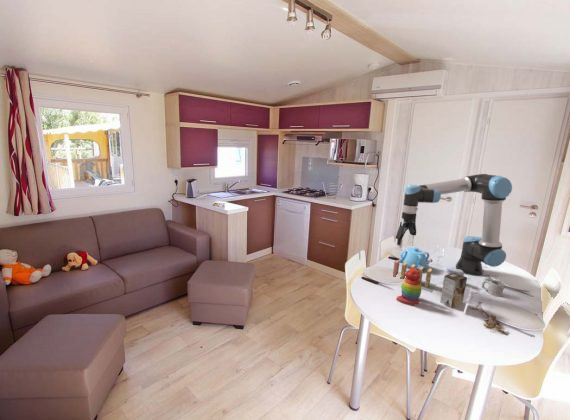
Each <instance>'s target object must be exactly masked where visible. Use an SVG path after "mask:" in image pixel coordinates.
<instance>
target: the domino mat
mask: <svg viewBox="0 0 570 420" xmlns="http://www.w3.org/2000/svg"><path fill="white" fill-rule="evenodd" d="M425 281H426V280H421V291H426V292H429V293H434V290H435V289H436V287H437V284H436V283H432V282H430V284H429V287H428V288H425Z"/></svg>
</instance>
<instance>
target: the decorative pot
mask: <svg viewBox="0 0 570 420" xmlns="http://www.w3.org/2000/svg"><path fill="white" fill-rule="evenodd" d="M429 258H430V253H429V252H427V251H424V250H421V249H419V248H418V247H412V246H409V247H408V248H407V247H406V249H405V250H401V252H400V258H399V260H400V263H399V264H403V263H404V262H407V269H408V270H409V269H410V266H411V265H412V264H415V268H417V269H419V268H420V266H422V267H424V268H423V270H425V269H426V268H427V266H428V264H429V263H430V262H429Z"/></svg>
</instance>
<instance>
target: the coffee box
mask: <svg viewBox="0 0 570 420" xmlns="http://www.w3.org/2000/svg"><path fill="white" fill-rule="evenodd" d="M467 280H468V277H467V276H465V275H463V276H462V275H460V274H457V273H453V274H449V275H446V274H445V275H444V277H443V283H442V290H441V295H440V300H439V302H440V303H441V304H442V305H444V306H446V307H447V308H450V309H453V308H456V307H459V306H463V302H464V296H465V291H466V286H467Z"/></svg>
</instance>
